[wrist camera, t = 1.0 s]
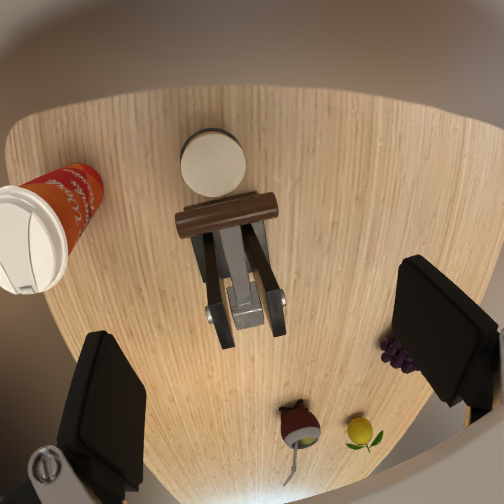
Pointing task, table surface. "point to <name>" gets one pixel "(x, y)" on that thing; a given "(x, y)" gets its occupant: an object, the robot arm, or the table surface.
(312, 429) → the mate gourd
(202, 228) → the lever
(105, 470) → the robot arm
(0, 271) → the coffee cup
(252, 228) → the lever base stand
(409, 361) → the fruit
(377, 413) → the table surface
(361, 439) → the lemon
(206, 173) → the cake
